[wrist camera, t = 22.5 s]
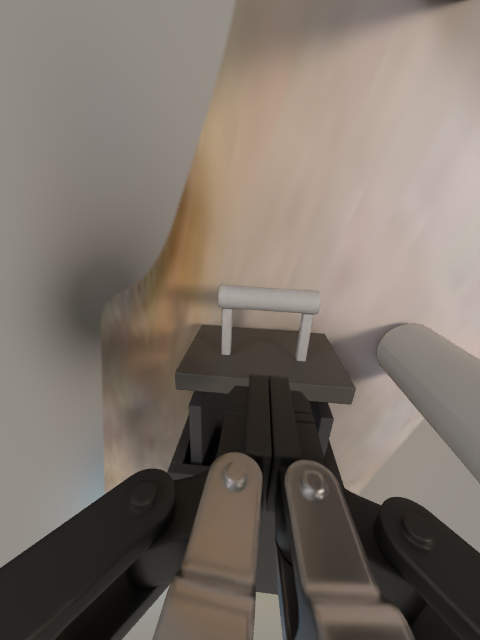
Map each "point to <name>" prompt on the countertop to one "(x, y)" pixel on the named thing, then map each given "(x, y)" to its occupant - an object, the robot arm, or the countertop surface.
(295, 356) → the handled box lid
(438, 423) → the beverage can
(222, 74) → the countertop surface
